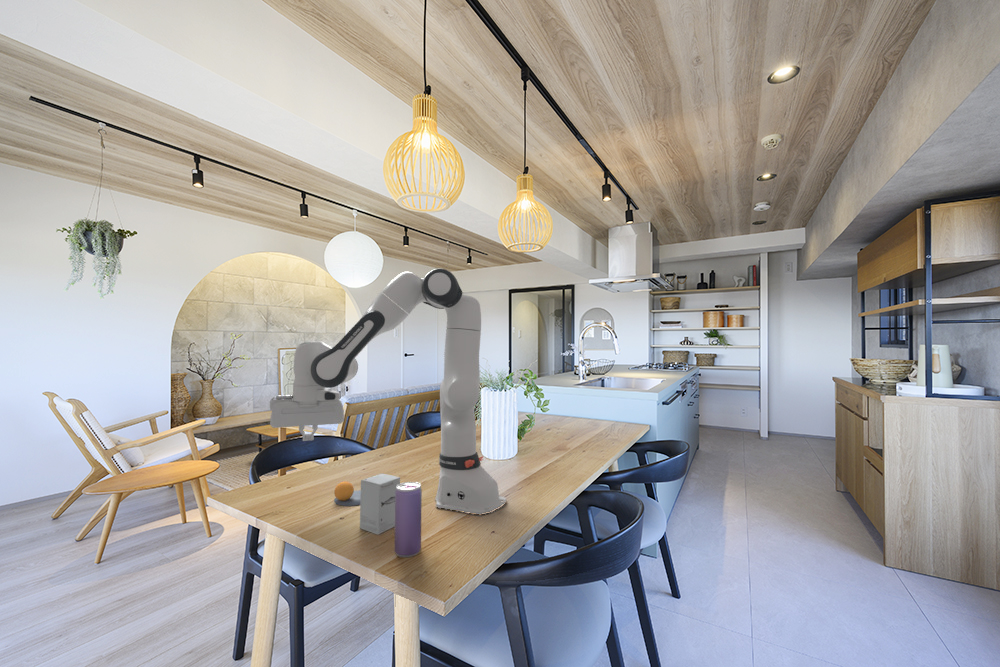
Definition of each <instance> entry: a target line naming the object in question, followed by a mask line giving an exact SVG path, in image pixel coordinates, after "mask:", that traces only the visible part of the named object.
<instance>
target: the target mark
mask: <svg viewBox="0 0 1000 667" xmlns="http://www.w3.org/2000/svg"><path fill="white" fill-rule="evenodd" d="M333 499H334V500H333V501H334V503H335V504H336V505H338V506H343V507H355V506H356V505H357V506H360V499H361V489H360V490H354V492H353V495H352V496H351V497H350V498H349V499H348V500H345V501H340V500H338V499H337V498H336V497H335V498H333ZM357 506H356V507H357Z"/></svg>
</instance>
